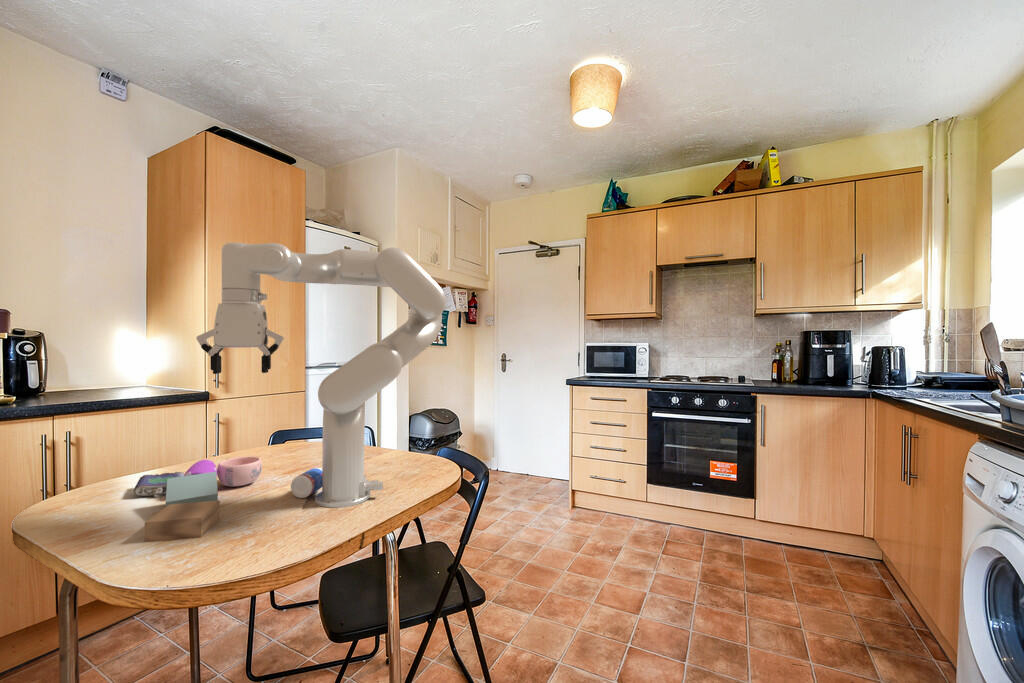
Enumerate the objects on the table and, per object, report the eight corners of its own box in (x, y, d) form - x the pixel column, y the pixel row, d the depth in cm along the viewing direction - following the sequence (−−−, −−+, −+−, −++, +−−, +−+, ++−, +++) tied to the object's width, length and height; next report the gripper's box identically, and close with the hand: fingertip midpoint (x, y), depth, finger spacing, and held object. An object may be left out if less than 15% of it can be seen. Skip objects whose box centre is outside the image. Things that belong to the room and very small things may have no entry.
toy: (201, 486, 97) (218, 449, 110) (166, 494, 95) (187, 455, 108) (210, 509, 99) (225, 470, 112) (176, 518, 97) (195, 476, 110)
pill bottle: (313, 479, 102) (334, 466, 112) (292, 473, 103) (315, 461, 112) (308, 501, 102) (329, 487, 112) (287, 495, 103) (310, 481, 112)
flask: (185, 470, 113) (182, 484, 104) (184, 481, 113) (181, 496, 104) (139, 474, 107) (131, 489, 99) (138, 486, 108) (130, 502, 99)
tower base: (219, 519, 90) (219, 500, 90) (201, 538, 82) (201, 517, 82) (168, 524, 88) (169, 504, 88) (144, 544, 79) (144, 522, 79)
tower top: (215, 486, 103) (216, 471, 102) (217, 509, 96) (217, 493, 95) (167, 494, 97) (167, 478, 96) (165, 518, 91) (165, 502, 90)
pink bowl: (251, 489, 109) (251, 465, 109) (208, 490, 107) (208, 467, 107) (271, 474, 121) (271, 453, 121) (232, 475, 119) (233, 454, 119)
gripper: (286, 300, 104) (286, 371, 105) (204, 298, 100) (204, 372, 100) (279, 297, 97) (279, 373, 97) (190, 295, 92) (190, 375, 92)
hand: (241, 373), depth 98 cm, fingers open, 9 cm apart
